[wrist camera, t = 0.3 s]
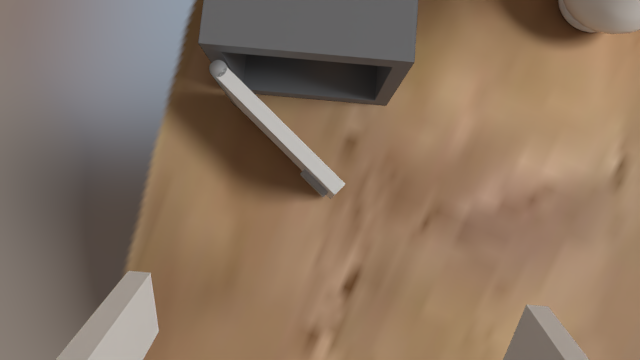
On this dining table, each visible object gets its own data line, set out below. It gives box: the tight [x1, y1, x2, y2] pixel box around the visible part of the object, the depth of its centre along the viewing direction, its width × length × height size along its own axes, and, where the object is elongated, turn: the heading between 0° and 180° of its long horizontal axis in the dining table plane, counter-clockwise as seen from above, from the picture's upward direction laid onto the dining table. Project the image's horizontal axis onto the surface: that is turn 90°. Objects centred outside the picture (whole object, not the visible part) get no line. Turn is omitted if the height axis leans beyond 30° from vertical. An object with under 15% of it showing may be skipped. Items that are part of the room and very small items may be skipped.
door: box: [209, 60, 345, 199], centre depth 27 cm, size 2×12×7 cm, turn 45°
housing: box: [198, 0, 418, 105], centre depth 28 cm, size 12×14×9 cm
